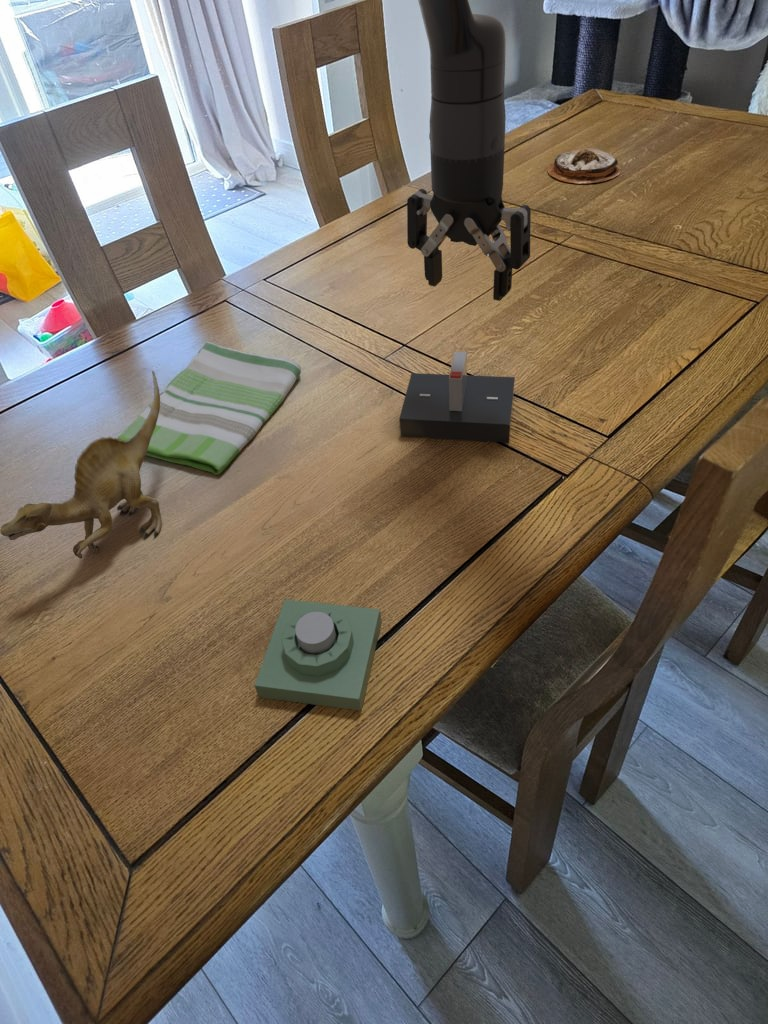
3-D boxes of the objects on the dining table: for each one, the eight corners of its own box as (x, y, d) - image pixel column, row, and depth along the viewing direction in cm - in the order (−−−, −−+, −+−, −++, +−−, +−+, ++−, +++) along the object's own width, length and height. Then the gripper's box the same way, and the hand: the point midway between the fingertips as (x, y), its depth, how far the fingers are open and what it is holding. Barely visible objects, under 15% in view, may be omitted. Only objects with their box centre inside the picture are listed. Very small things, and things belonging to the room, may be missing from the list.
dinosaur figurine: (38, 591, 77) (-22, 508, 68) (179, 444, 93) (147, 360, 84) (91, 611, 75) (36, 528, 65) (226, 457, 91) (199, 372, 81)
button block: (381, 621, 71) (378, 598, 68) (361, 711, 64) (356, 689, 61) (288, 611, 73) (281, 588, 70) (259, 697, 66) (249, 675, 63)
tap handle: (454, 383, 93) (454, 349, 89) (466, 383, 92) (466, 349, 89) (449, 411, 89) (448, 377, 85) (461, 411, 88) (461, 377, 85)
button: (339, 624, 67) (337, 613, 65) (331, 656, 64) (328, 645, 63) (303, 620, 67) (300, 609, 66) (293, 651, 65) (290, 641, 64)
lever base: (513, 395, 95) (514, 376, 93) (509, 442, 88) (510, 423, 86) (412, 390, 97) (411, 372, 95) (400, 436, 91) (399, 417, 88)
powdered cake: (605, 153, 152) (607, 132, 149) (632, 178, 141) (636, 156, 138) (539, 162, 151) (540, 142, 148) (561, 188, 140) (564, 167, 137)
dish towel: (306, 375, 102) (302, 355, 100) (225, 478, 88) (218, 457, 85) (208, 358, 108) (201, 338, 105) (116, 452, 93) (107, 431, 91)
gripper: (548, 137, 69) (536, 287, 81) (424, 123, 75) (430, 265, 87) (516, 164, 65) (508, 318, 77) (388, 147, 71) (399, 292, 83)
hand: (466, 290), depth 82 cm, fingers open, 8 cm apart
